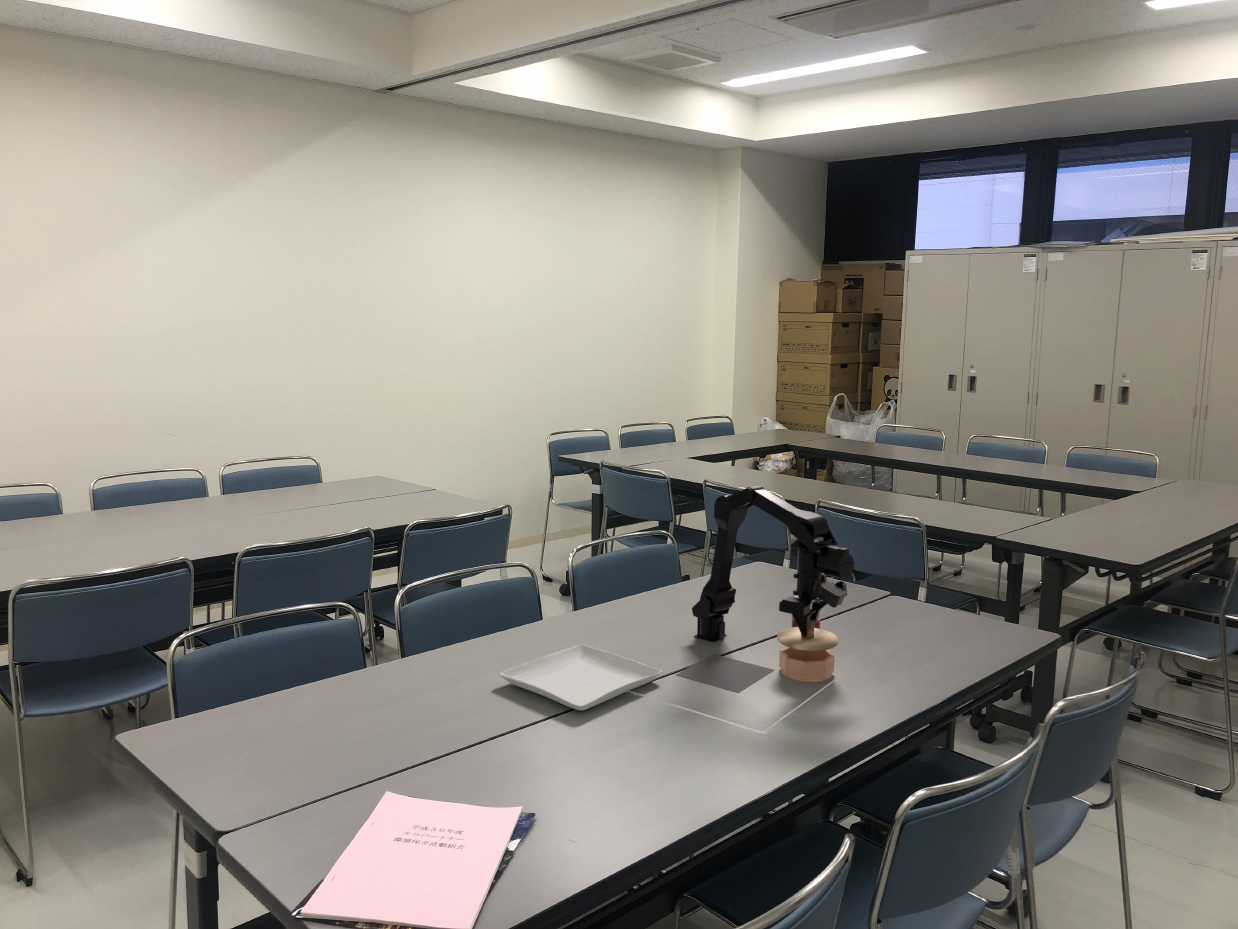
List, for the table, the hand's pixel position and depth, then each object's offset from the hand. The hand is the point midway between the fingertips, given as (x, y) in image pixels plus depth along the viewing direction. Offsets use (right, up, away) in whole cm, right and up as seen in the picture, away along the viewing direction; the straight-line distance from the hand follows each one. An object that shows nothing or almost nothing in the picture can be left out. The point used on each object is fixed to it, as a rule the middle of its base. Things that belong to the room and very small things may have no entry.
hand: (807, 633), depth 210 cm
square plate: (-53, -11, -5) cm, 54 cm away
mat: (-19, -10, +1) cm, 21 cm away
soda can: (+4, -7, +23) cm, 24 cm away
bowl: (0, -10, +1) cm, 10 cm away
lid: (0, -2, 0) cm, 2 cm away
